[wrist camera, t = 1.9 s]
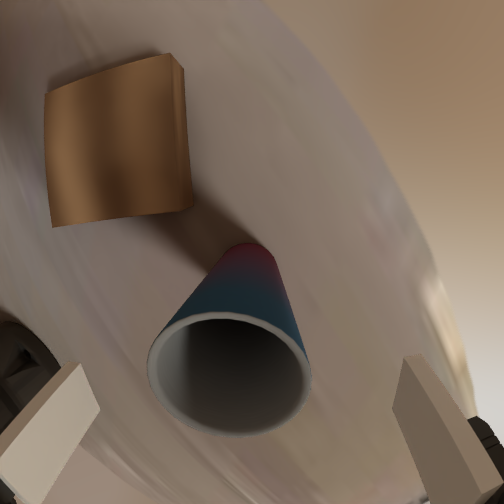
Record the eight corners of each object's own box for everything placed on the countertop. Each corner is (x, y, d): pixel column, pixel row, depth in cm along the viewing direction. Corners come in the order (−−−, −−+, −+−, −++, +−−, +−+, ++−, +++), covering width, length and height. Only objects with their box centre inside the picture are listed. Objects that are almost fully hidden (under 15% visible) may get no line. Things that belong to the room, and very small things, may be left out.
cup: (266, 319, 27) (264, 452, 12) (196, 288, 26) (131, 401, 12) (302, 254, 25) (344, 354, 11) (228, 218, 25) (176, 279, 10)
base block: (77, 220, 25) (52, 227, 22) (69, 100, 22) (44, 93, 19) (193, 205, 25) (180, 210, 21) (183, 69, 22) (170, 52, 18)
